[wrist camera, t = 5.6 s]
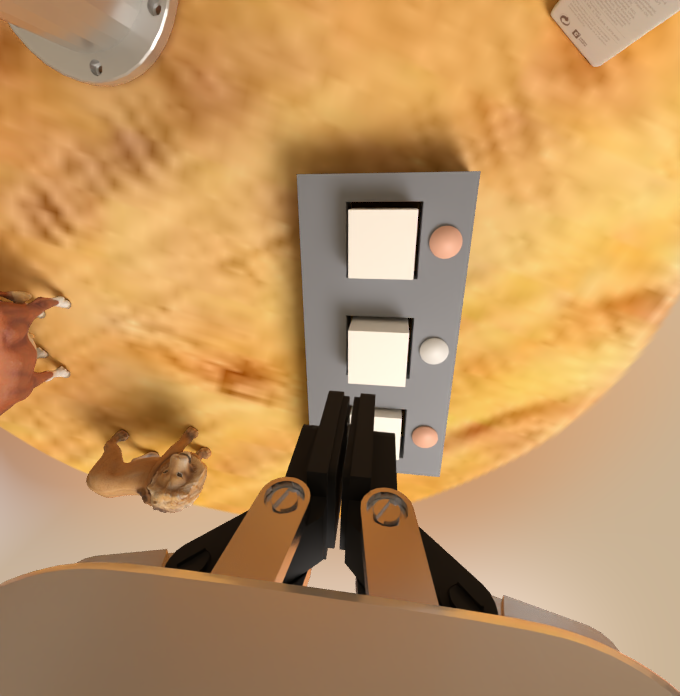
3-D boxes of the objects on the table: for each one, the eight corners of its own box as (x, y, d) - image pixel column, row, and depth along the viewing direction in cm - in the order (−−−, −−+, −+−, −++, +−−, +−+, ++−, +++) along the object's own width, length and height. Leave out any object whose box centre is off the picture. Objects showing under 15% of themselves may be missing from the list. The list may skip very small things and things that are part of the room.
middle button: (353, 314, 27) (348, 330, 24) (407, 316, 26) (409, 333, 23) (353, 362, 28) (348, 383, 25) (404, 365, 28) (405, 387, 25)
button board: (307, 176, 25) (295, 174, 22) (470, 174, 23) (481, 171, 20) (318, 442, 34) (310, 466, 31) (435, 453, 32) (439, 478, 30)
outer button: (354, 392, 31) (349, 414, 28) (401, 395, 30) (401, 418, 27) (354, 430, 32) (349, 455, 29) (398, 433, 32) (398, 460, 29)
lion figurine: (222, 408, 34) (167, 476, 26) (243, 452, 36) (198, 528, 28) (102, 432, 38) (21, 497, 29) (127, 470, 39) (56, 543, 31)
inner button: (354, 207, 24) (348, 209, 21) (415, 207, 23) (418, 209, 20) (354, 267, 25) (348, 278, 22) (411, 268, 25) (413, 279, 22)
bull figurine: (29, 387, 37) (-65, 436, 29) (35, 269, 31) (-78, 292, 24) (68, 405, 37) (-14, 458, 29) (82, 291, 31) (-16, 321, 24)
